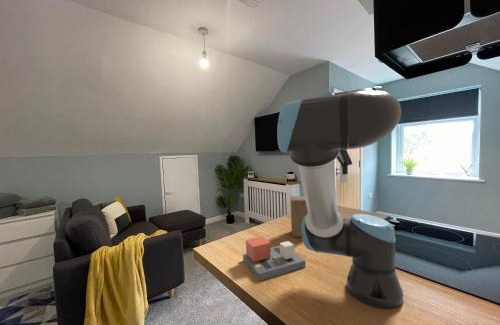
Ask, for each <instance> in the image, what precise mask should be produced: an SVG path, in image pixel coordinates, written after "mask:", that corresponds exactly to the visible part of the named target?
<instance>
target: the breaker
mask: <svg viewBox="0 0 500 325" xmlns="http://www.w3.org/2000/svg"><path fill="white" fill-rule="evenodd" d="M279 246H280V255H281V256H282V257H283V258H284V259H290V258H293V257H294V253H295V245H294V244H293V243H292V242H290V241H289V240H288V241H282V242H279Z"/></svg>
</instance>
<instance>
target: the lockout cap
mask: <svg viewBox="0 0 500 325" xmlns="http://www.w3.org/2000/svg"><path fill="white" fill-rule="evenodd" d="M270 248H271V242H270V241H268V240H267V239H266V238H265V237H264V236H257V237H252V238H248V239H245V252H246V253H245V254H247V255H248V256H249V257H250V259H251V260H252V261H253V262H256V261H260V260H263V259H267V258H271V249H270Z"/></svg>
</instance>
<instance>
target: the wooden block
mask: <svg viewBox="0 0 500 325" xmlns="http://www.w3.org/2000/svg"><path fill="white" fill-rule="evenodd" d="M307 214H308V210H307V205H306V200H305V195H303V196H301V195H299V196H290V219H291V220H290V222H291V223H290V224H291V236H292V237H293V238H302V221H303V218H304V217H305V216H307Z"/></svg>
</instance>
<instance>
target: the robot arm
mask: <svg viewBox="0 0 500 325" xmlns="http://www.w3.org/2000/svg"><path fill="white" fill-rule="evenodd" d="M401 106H402V105H401V104H400V102H399V100H398V99H397V97H395V96H394V95H392V94H390V93H389V92H386V91H384V88H383V87H382V86H371V87H367V88H364V87H363V88H359V89H354V90H345V91H339V92H331V91H323V92H322V93H320V94H319V95H317V97H312V98H304V99H303V98H300V99H298V100H294V101H290V102H287V103H285V104H283V106H282V107H281V109H280V112H279V113H278V114H279V116H278V121H277V132H276V133H277V134H276V136H277V137H276V138H277V145H278V149H279V151H280V152H281V153H285V154H289V156H290V157H289V159H290V160H291V162H292V163H293V164H295V165H296V166H298V171H299V176H300V180H301V186H302V189H303V190H302V191H303V194H304V195H303V196H305V200H306V205H307V210H308V214H307V216H305V217H304V218H303V221H302V237H301V238H302V242H303V245H304V246H305V248H306V249H307V250H309V251H312V252H315V253H321V254H322V253H324V254H329V255H335V256H336V255H337V256H341V257H342V256H344V257H349V258H352V260H351V261H352V263H351V265H350V268H349V271H348V274H347V278H346V287H347V290H348V291H349V293H350V294H351V295H352V296H353V297H354V298H355V299H357V300H358V301H360V302H362V303H364V304H366V305H368V306H372V307H374V308H378V309H379V308H380V309H396V308H398V307H400V306H402V304H403V302H404V292H403V291H404V290H403V288H402V286H401V284H400V280H399V277H398V275H397V271H396V241H397V239H396V233H395V227H394V226H393V225H392V223H390V221H388V220H386V219H384V218H382V217H378V216H375V215H371V214H364V213H354V214H352V215H351V216H350V218H343V216H342V215H341V213H340V212H339V211H338V203H337V202H338V201H337V190H336V189H337V188H336V179H335V168H334V167H335V166H334V165H335V164H334V161H335V160H337V161H338V163H339V164H340V166H339V177H340V178H339V179H340V183H341V184H344V183H347V182H348V177H347V175H348V173H349V171H348V170H349V169H348V168H349V166H351V165H353V162H352V161H353V160H352V159H351V157H350V154H349V153H348V150H356V149H360V148H366V147H368V146H371V145H373V144H376V143H378V142H379V141H381V140H382V139H384V138H385V137H387V136H388V135H389V134H390V133H392V131H393V130H395V128H396V127H397V125H398V123H399V122H400V119H401V116H402V107H401Z"/></svg>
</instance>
